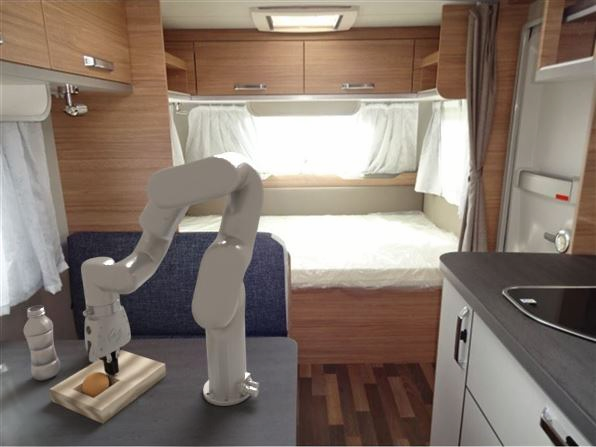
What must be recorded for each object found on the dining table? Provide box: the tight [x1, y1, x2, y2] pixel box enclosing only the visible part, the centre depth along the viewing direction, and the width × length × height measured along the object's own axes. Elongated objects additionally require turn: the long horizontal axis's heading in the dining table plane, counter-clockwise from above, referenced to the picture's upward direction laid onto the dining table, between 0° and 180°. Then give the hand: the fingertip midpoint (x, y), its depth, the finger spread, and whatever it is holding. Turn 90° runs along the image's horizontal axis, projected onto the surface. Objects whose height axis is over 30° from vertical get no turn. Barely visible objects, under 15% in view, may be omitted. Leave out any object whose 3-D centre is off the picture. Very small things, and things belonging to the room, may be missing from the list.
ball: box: [82, 372, 109, 398], centre depth 99 cm, size 6×6×6 cm
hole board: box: [49, 349, 167, 424], centre depth 102 cm, size 18×20×4 cm
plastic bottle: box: [22, 304, 61, 381], centre depth 105 cm, size 6×7×20 cm
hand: (112, 372), depth 102 cm, fingers closed
